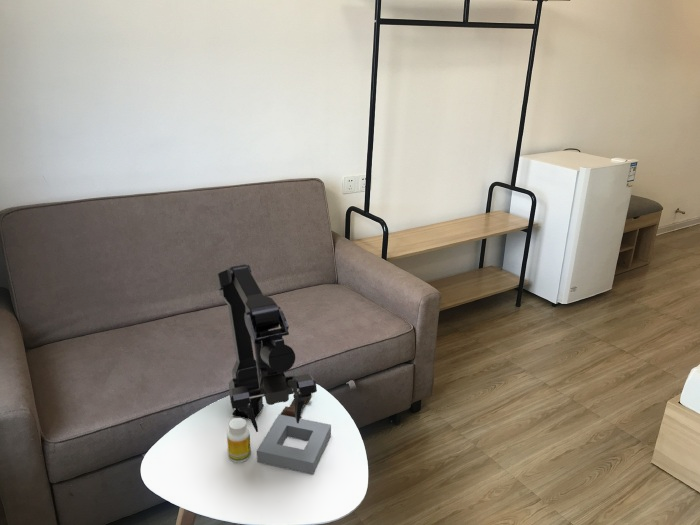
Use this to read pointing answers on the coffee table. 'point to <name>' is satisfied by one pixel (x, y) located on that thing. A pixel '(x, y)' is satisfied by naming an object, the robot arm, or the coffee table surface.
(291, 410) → the bolt
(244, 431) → the supplement bottle
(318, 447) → the socket block
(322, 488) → the coffee table surface
